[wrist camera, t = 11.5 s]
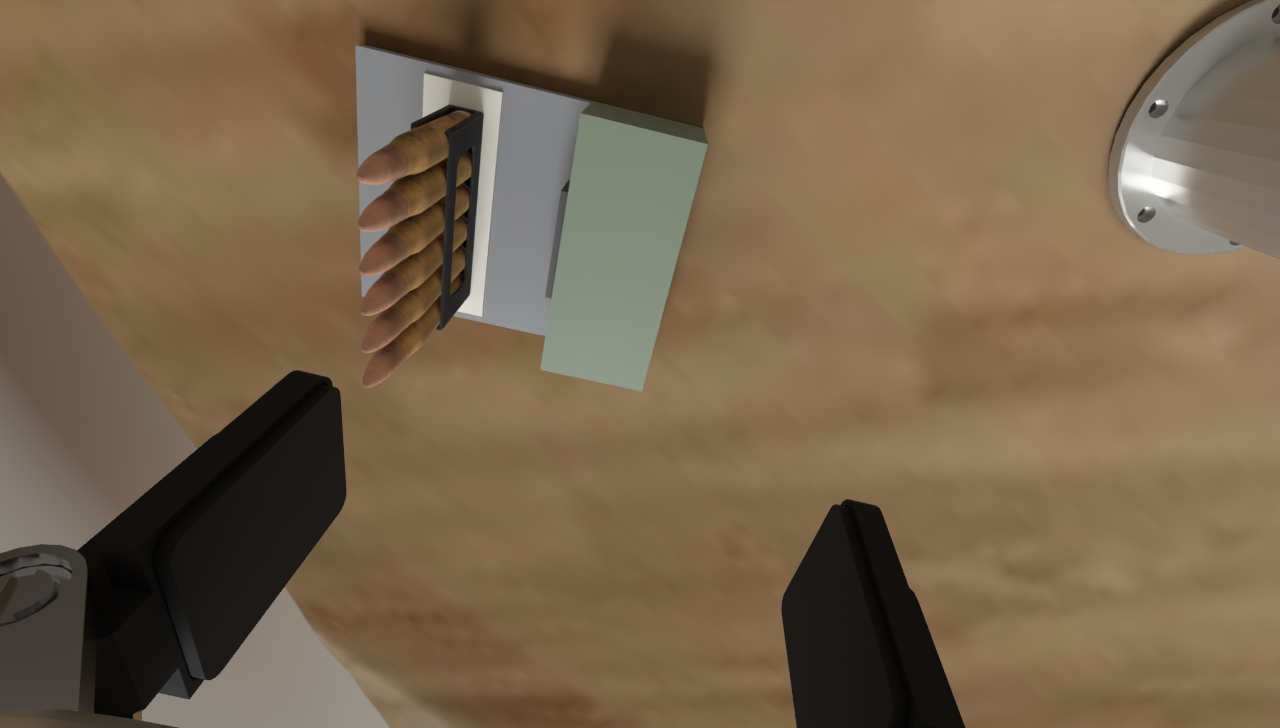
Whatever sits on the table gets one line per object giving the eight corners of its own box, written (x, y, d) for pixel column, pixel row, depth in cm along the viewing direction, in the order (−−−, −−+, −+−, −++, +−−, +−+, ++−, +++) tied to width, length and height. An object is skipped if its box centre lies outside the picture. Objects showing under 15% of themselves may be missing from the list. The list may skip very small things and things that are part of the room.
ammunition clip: (470, 296, 35) (387, 408, 25) (439, 290, 35) (343, 400, 25) (484, 111, 30) (386, 157, 20) (448, 103, 30) (330, 144, 20)
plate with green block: (702, 127, 31) (708, 144, 27) (645, 349, 38) (642, 391, 34) (364, 44, 30) (312, 47, 26) (369, 290, 37) (329, 324, 33)
